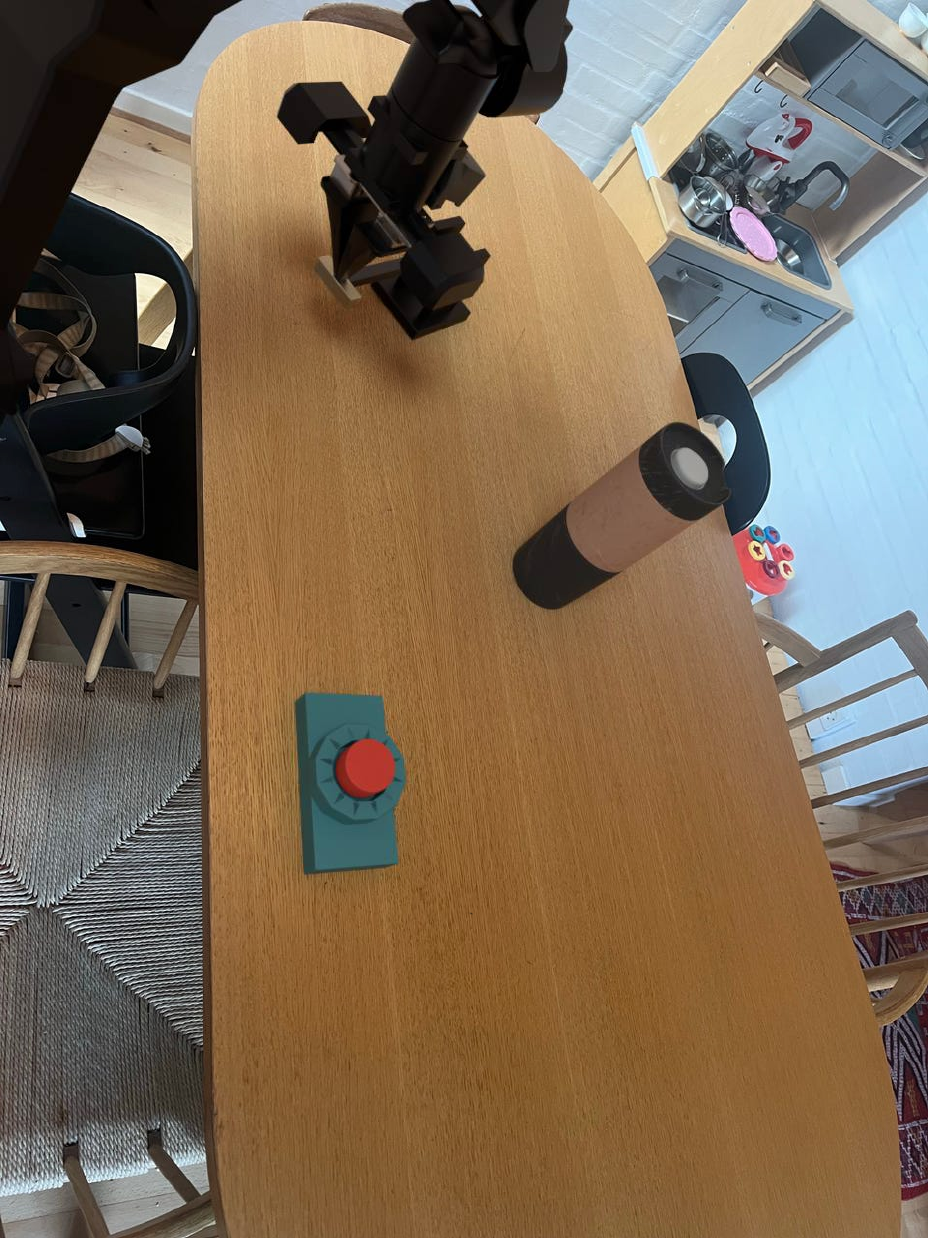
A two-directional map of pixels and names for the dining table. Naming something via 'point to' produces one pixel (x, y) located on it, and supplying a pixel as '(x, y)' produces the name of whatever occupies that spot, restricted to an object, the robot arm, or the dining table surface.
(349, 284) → the lever
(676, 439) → the travel mug
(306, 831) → the button block
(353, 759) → the button
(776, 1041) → the dining table surface
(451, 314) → the switch bracket
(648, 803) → the dining table surface
